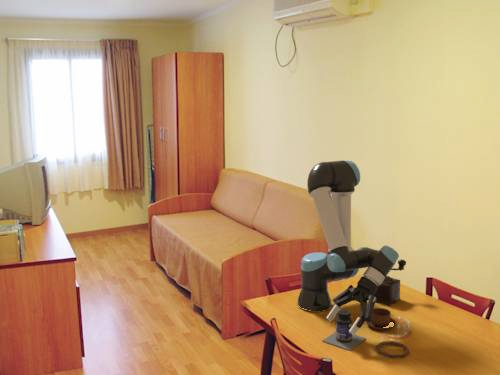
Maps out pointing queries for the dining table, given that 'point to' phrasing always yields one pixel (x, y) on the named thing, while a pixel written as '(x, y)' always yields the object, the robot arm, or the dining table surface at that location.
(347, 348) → the mat
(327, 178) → the robot arm
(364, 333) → the dining table surface
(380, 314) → the cup and saucer
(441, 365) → the dining table surface
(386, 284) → the manual coffee grinder
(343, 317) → the pill bottle
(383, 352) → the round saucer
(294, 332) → the dining table surface
